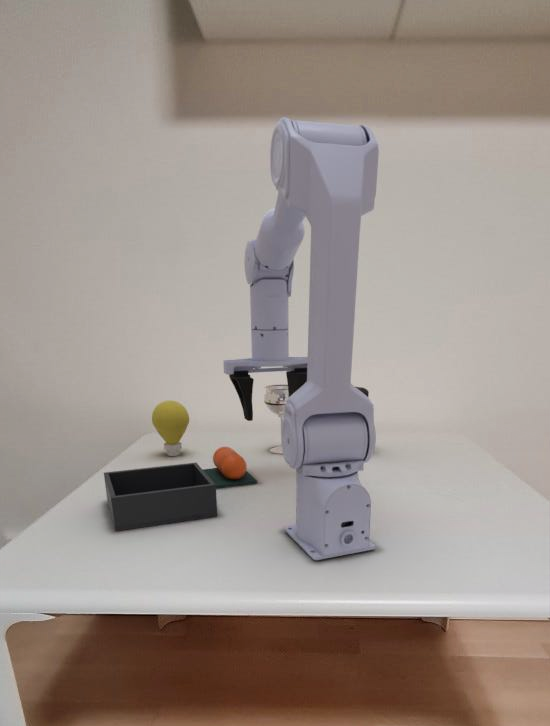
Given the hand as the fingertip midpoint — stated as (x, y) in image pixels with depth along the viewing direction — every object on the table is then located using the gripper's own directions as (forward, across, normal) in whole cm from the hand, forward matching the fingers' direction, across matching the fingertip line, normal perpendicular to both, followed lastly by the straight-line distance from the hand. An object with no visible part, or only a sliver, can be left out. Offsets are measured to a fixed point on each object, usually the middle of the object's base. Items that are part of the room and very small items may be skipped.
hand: (271, 417), depth 88 cm
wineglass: (+10, -7, -13) cm, 18 cm away
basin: (+9, +20, +10) cm, 24 cm away
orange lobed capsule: (+8, +9, 0) cm, 12 cm away
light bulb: (+10, +13, -18) cm, 24 cm away
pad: (+9, +9, 0) cm, 13 cm away
